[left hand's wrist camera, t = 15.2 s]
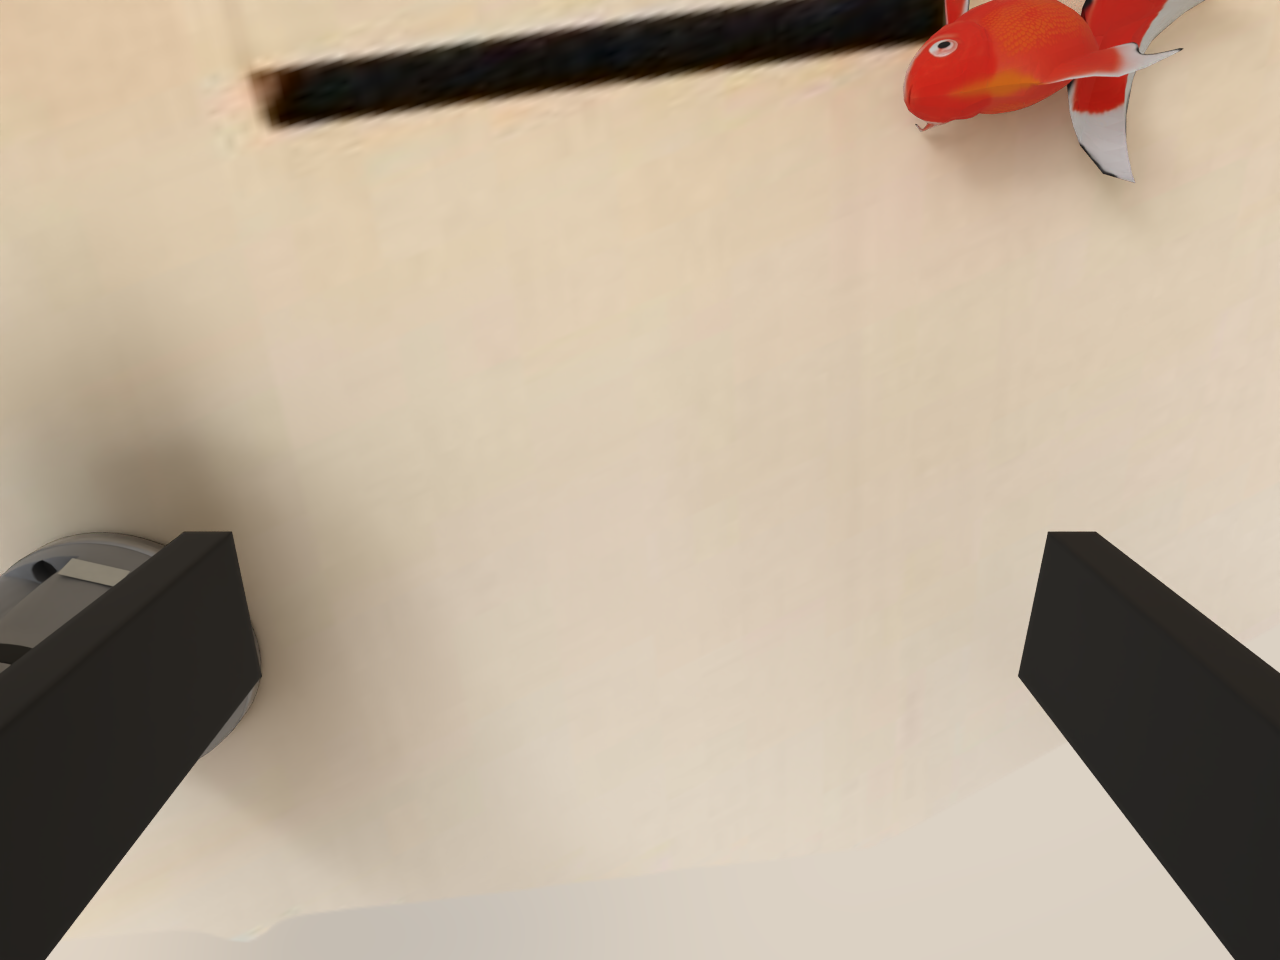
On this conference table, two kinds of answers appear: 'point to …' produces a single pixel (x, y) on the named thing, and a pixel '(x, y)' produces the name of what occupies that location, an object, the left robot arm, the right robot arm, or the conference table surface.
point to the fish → (1042, 64)
